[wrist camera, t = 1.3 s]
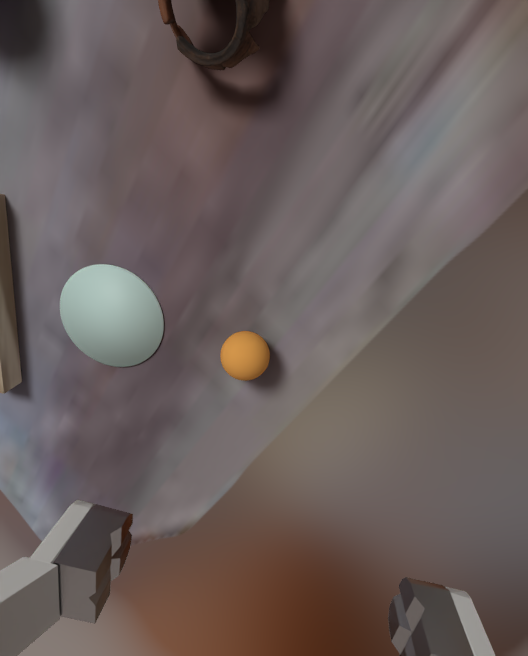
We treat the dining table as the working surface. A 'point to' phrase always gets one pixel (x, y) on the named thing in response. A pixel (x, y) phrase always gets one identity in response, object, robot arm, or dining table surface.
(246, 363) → the ball
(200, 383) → the dining table surface
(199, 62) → the pottery mug
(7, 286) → the wall
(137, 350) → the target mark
